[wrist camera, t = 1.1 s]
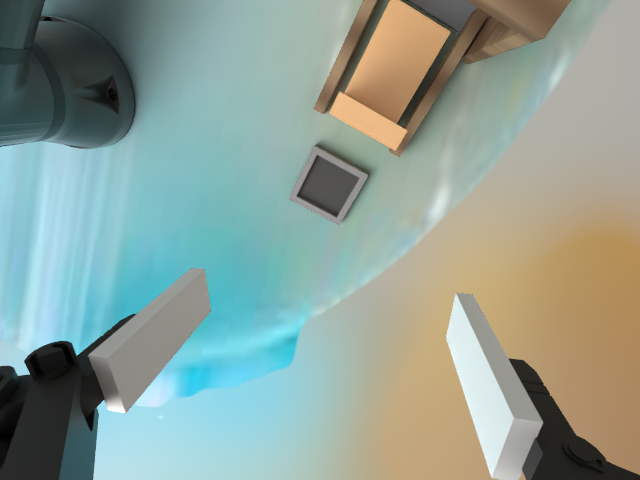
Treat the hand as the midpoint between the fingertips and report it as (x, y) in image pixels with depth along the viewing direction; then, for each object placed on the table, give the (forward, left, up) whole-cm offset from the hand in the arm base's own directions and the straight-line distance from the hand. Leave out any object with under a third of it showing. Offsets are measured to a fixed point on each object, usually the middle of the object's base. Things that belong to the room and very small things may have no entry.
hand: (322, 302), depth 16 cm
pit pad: (-1, -2, -28) cm, 28 cm away
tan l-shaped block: (-7, +11, -28) cm, 31 cm away
